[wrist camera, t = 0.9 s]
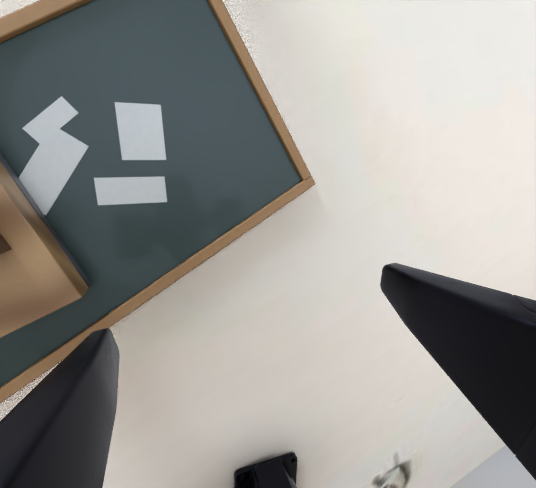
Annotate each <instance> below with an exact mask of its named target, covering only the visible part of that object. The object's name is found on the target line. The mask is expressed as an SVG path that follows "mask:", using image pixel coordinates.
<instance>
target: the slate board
mask: <svg viewBox="0 0 536 488" xmlns="http://www.w3.org/2000/svg"><path fill="white" fill-rule="evenodd" d="M0 152H1V154H2V155H3V156H4V158H5V159H6V161H7V162H8V164H9V165H10V167H11V168H12V169H13V171H14V172H15V174H16V175H17V177H18V178H19V180H20V181H21V182H22V184H23V185H24V187H25V188H26V190H27V191H28V193H29V194H30V195H31V197H32V198H33V200H34V201H35V203H36V204H37V206H38V207H39V208H40V210H41V211H42V213H43V214H44V216H45V217H46V219H47V220H48V221H49V223H50V224H51V226H52V227H53V229H54V230H55V232H56V233H57V234H58V236H59V237H60V239H61V240H62V242H63V243H64V245H65V246H66V247H67V249H68V250H69V252H70V253H71V255H72V256H73V258H74V259H75V260H76V262H77V263H78V265H79V266H80V268H81V269H82V271H83V272H84V273H85V275H86V276H87V278H88V279H89V281H90V282H91V284H92V285H91V286H90V288H89V289H88V290H87V291H86V293H85V294H84V295H83V296H82V298H80V299H78V300H76V301H74V302H72V303H70V304H68V305H66V306H64V307H62V308H60V309H58V310H56V311H54V312H52V313H50V314H48V315H46V316H44V317H42V318H40V319H38V320H36V321H34V322H32V323H30V324H27V325H25V326H23V327H21V328H19V329H17V330H15V331H13V332H11V333H9V334H7V335H5V336H3V337H1V338H0V403H1V402H3V401H4V400H5V399H7V398H8V397H10V396H11V395H13V394H14V393H16V392H17V391H18V390H20V389H21V388H23V387H24V386H26V385H27V384H29V383H30V382H31V381H33V380H34V379H36V378H37V377H39V376H40V375H41V374H43V373H44V372H46V371H47V370H49V369H50V368H52V367H53V366H54V365H56V364H57V363H59V362H60V361H62V360H63V359H64V358H66V357H67V356H68V355H69V354H70V353H71V352H72V351H73V350H74V349H75V348H76V347H77V346H78V345H79V344H80V343H81V342H82V341H83V340H84V339H85V338H86V337H87V336H88V335H89V334H90V333H92V332H93V331H96V330H101V329H105V328H109V327H110V326H112V325H113V324H115V323H116V322H118V321H119V320H121V319H122V318H123V317H125V316H126V315H128V314H129V313H131V312H132V311H134V310H135V309H136V308H138V307H139V306H141V305H142V304H144V303H145V302H146V301H148V300H149V299H151V298H152V297H154V296H155V295H157V294H158V293H159V292H161V291H162V290H164V289H165V288H167V287H168V286H169V285H171V284H172V283H174V282H175V281H177V280H178V279H180V278H181V277H182V276H184V275H185V274H187V273H188V272H190V271H191V270H192V269H194V268H195V267H197V266H198V265H200V264H201V263H203V262H204V261H205V260H207V259H208V258H210V257H211V256H213V255H214V254H216V253H217V252H218V251H220V250H221V249H223V248H224V247H226V246H227V245H228V244H230V243H231V242H233V241H234V240H236V239H237V238H239V237H240V236H241V235H243V234H244V233H246V232H247V231H249V230H250V229H251V228H253V227H254V226H256V225H257V224H259V223H260V222H262V221H263V220H264V219H266V218H267V217H269V216H270V215H272V214H273V213H274V212H276V211H277V210H279V209H280V208H282V207H283V206H285V205H286V204H287V203H289V202H290V201H292V200H293V199H295V198H296V197H298V196H299V195H300V194H302V193H303V192H305V191H306V190H308V189H309V188H310V187H312V186H313V185H315V182H314V180H313V178H312V176H311V174H310V172H309V171H308V169H307V167H306V165H305V163H304V161H303V159H302V157H301V155H300V153H299V151H298V149H297V147H296V145H295V143H294V141H293V139H292V137H291V135H290V133H289V131H288V129H287V127H286V125H285V123H284V121H283V119H282V117H281V115H280V113H279V111H278V109H277V107H276V106H275V104H274V102H273V100H272V98H271V96H270V94H269V92H268V90H267V88H266V86H265V84H264V82H263V80H262V78H261V76H260V74H259V72H258V70H257V68H256V66H255V64H254V62H253V60H252V58H251V56H250V54H249V52H248V50H247V48H246V46H245V44H244V42H243V41H242V39H241V37H240V35H239V33H238V31H237V29H236V27H235V25H234V23H233V21H232V19H231V17H230V15H229V13H228V11H227V9H226V7H225V5H224V3H223V1H222V0H39V1H37V2H34V3H32V4H30V5H28V6H26V7H23V8H21V9H19V10H17V11H14V12H12V13H10V14H8V15H5V16H3V17H1V18H0Z"/></svg>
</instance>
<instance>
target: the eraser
mask: <svg viewBox="0 0 536 488" xmlns="http://www.w3.org/2000/svg"><path fill="white" fill-rule="evenodd" d="M91 285H92V284H91V282H90V281H89V279H88V278H87V276H86V275H85V273H84V272H83V271H82V269H81V268H80V266H79V265H78V263H77V262H76V260H75V259H74V258H73V256H72V255H71V253H70V252H69V250H68V249H67V247H66V246H65V245H64V243H63V242H62V240H61V239H60V237H59V236H58V234H57V233H56V232H55V230H54V229H53V227H52V226H51V224H50V223H49V221H48V220H47V219H46V217H45V216H44V214H43V213H42V211H41V210H40V208H39V207H38V206H37V204H36V203H35V201H34V200H33V198H32V197H31V195H30V194H29V193H28V191H27V190H26V188H25V187H24V185H23V184H22V182H21V181H20V180H19V178H18V177H17V175H16V174H15V172H14V171H13V169H12V168H11V167H10V165H9V164H8V162H7V161H6V159H5V158H4V156H3V155H2V154H1V152H0V338H1V337H3V336H5V335H7V334H9V333H11V332H13V331H15V330H17V329H19V328H21V327H23V326H25V325H27V324H30V323H32V322H34V321H36V320H38V319H40V318H42V317H44V316H46V315H48V314H50V313H52V312H54V311H56V310H58V309H60V308H62V307H64V306H66V305H68V304H70V303H72V302H74V301H76V300H78V299H80V298H82V296H83V295H84V294H85V293H86V291H87V290H88V289H89V288H90V286H91Z"/></svg>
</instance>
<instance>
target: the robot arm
mask: <svg viewBox="0 0 536 488" xmlns="http://www.w3.org/2000/svg"><path fill="white" fill-rule="evenodd" d="M380 286H381V290H382V292H383V293H384V295H385V296H386V297H387V299H388V300H389V302H390V303H391V305H392V306H393V308H394V309H395V311H396V312H397V313H398V315H399V316H400V318H401V319H402V321H403V322H404V323H405V325H406V326H407V327H408V329H409V330H410V331H411V332H412V333H413V335H414V336H415V337H416V338H417V339H418V341H419V342H420V343H421V344H422V345H423V346H424V348H425V349H426V350H427V351H428V352H429V354H430V355H431V356H432V357H433V358H434V360H435V361H436V362H437V363H438V364H439V366H440V367H441V368H442V369H443V370H444V371H445V373H446V374H447V375H448V376H449V377H450V379H451V380H452V381H453V382H454V383H455V385H456V386H457V387H458V388H459V389H460V391H461V392H462V393H463V394H464V395H465V396H466V398H467V399H468V400H469V401H470V402H471V404H472V405H473V406H474V407H475V408H476V410H477V411H478V412H479V413H480V414H481V415H482V417H483V418H484V419H485V420H486V421H487V423H488V424H489V425H490V426H491V427H492V429H493V430H494V431H495V432H496V433H497V435H498V436H499V437H500V438H501V439H502V440H503V442H504V443H505V444H506V445H507V446H508V448H509V449H510V450H511V451H512V452H513V453H514V454H515V455H516V457H517V459H518V460H519V461H520V462H521V463H522V465H523V466H524V467H525V468H526V469H527V470H528V472H529V473H530V474H531V475H532V476H533V477H534V479H535V480H536V301H535V300H531V299H528V298H524V297H520V296H517V295H512V294H509V293H505V292H501V291H498V290H494V289H490V288H487V287H483V286H479V285H476V284H472V283H468V282H464V281H461V280H457V279H453V278H450V277H446V276H442V275H438V274H435V273H431V272H427V271H424V270H420V269H416V268H412V267H409V266H405V265H401V264H398V263H392V264H387V265H385V266H384V267H383V270H382V276H381V283H380ZM118 372H119V350H118V347H117V344H116V342H115V339H114V337H113V334H112V332H111V330H110V329H108V328H105V329H101V330H96V331H93V332H92V333H90V334H89V335H88V336H87V337H86V338H85V339H84V340H83V341H82V342H81V343H80V344H79V345H78V346H77V347H76V348H75V349H74V350H73V351H72V352H71V353H70V354H69V355H68V356H67V357H66V358H65V359H64V360H63V361H62V362H61V363H59V364H58V365H57V366H56V367H55V368H54V369H53V370H52V371H51V372H50V373H49V374H48V375H47V376H46V377H45V378H44V379H43V380H42V381H41V382H40V383H39V384H38V385H37V386H36V387H35V388H34V389H33V390H32V391H31V392H30V393H29V394H28V395H27V396H26V397H25V398H24V399H23V400H21V401H20V402H19V403H18V404H17V405H16V406H15V407H14V408H13V409H12V410H11V411H10V412H9V413H8V414H7V415H6V416H5V417H4V418H3V419H2V420H1V421H0V488H102V486H103V481H104V475H105V469H106V464H107V458H108V453H109V447H110V442H111V436H112V430H113V425H114V419H115V413H116V404H117V389H118ZM296 473H297V457H296V455H295V453H289V454H286V455H283V456H280V457H277V458H274V459H270V460H267V461H264V462H261V463H258V464H255V465H251V466H248V467H245V468H242V469H239V470H237V471H236V472H235V473H234V488H297V487H296Z"/></svg>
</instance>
